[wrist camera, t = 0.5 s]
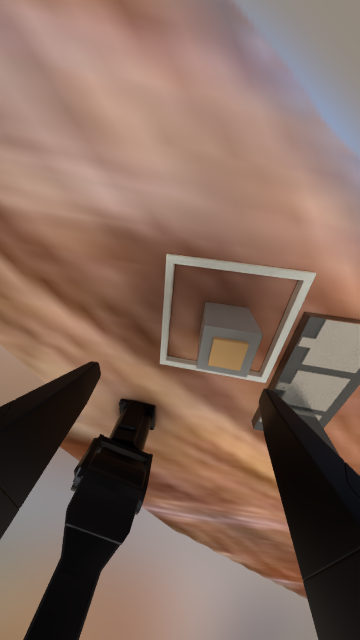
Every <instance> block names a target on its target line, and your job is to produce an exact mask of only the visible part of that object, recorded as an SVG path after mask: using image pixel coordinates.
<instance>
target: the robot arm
mask: <svg viewBox="0 0 360 640" xmlns="http://www.w3.org/2000/svg"><path fill="white" fill-rule="evenodd" d="M100 376H101V371H100V366H99V363H98V362H89V363H87V364H85V365H83V366H81V367H79V368H77V369H75V370H73V371H71V372H69V373H67V374H65V375H63V376H61V377H59V378H57V379H55V380H53V381H51V382H49V383H47V384H45V385H43V386H41V387H39V388H37V389H35V390H33V391H31V392H29V393H27V394H25V395H23V396H21V397H19V398H17V399H16V400H13V401H11V402H9V403H7V404H5V405H3V406H1V407H0V539H1V537H2V536H3V534H4V533H5V531H6V530H7V528H8V527H9V525H10V523H11V522H12V520H13V518H14V517H15V516H16V514H17V512H18V511H19V508H20V507H21V506H22V504H23V503H24V501H25V500H26V498H27V497H28V495H29V493H30V492H31V490H32V489H33V487H34V486H35V484H36V482H37V481H38V479H39V478H40V476H41V475H42V473H43V471H44V470H45V468H46V467H47V465H48V464H49V462H50V460H51V459H52V457H53V456H54V454H55V453H56V451H57V449H58V448H59V446H60V445H61V443H62V442H63V440H64V438H65V437H66V435H67V434H68V432H69V431H70V429H71V427H72V426H73V424H74V423H75V421H76V419H77V418H78V416H79V415H80V413H81V412H82V410H83V409H84V407H85V405H86V404H87V402H88V400H89V398H90V396H91V394H92V392H93V390H94V388H95V386H96V384H97V382H98V381H99V379H100ZM119 406H120V417H119V419H118V421H117V423H116V425H115V427H114V429H113V431H112V433H111V435H110V437H109V438H107V437H105V436H104V435H102V434H100V436H99V437H98V438H94V439H93V441H92V443H91V445H90V447H89V448H88V450H87V452H86V453H85V455H84V456H83V458H82V459H81V461H80V462H79V464H78V465H77V467H76V468H75V470H74V475H75V478H74V481H73V482H74V483H73V485H72V488H71V490H72V491H75V493H74V495H73V497H72V499H71V501H70V503H69V505H68V508H67V511H66V519H65V528H64V536H63V544H62V553H61V558H60V560H59V563H58V565H57V567H56V569H55V571H54V574H53V576H52V578H51V580H50V582H49V584H48V587H47V589H46V591H45V593H44V595H43V598H42V600H41V602H40V604H39V606H38V609H37V611H36V613H35V615H34V617H33V620H32V622H31V624H30V626H29V628H28V631H27V633H26V635H25V637H24V639H23V640H79V637H80V634H81V631H82V628H83V625H84V622H85V619H86V616H87V613H88V609H89V607H90V604H91V600H92V597H93V594H94V591H95V588H96V585H97V582H98V579H99V576H100V573H101V571H102V569H103V568H104V566H105V565H106V564H107V562H108V561H109V560H110V558H111V557H112V556H113V554H114V553H115V551H116V550H117V549H118V547H119V546H120V545H121V544H122V543H123V542H124V540H125V538H126V537H127V535H128V534H129V532H130V529H131V526H132V522H133V519H134V516H135V514H136V515H137V514H138V513H139V511H140V509H141V506H142V504H143V501H144V497H145V494H146V490H147V486H148V480H149V474H150V469H151V463H152V457H153V455H152V454H148V453H145V452H143V449H144V446H145V442H146V439H147V436H148V433H149V429H150V430H154V427H155V409H156V408H155V406H152V405H147V404H143V403H138V402H133V401H128V400H123V399H121V400H120V402H119ZM259 406H260V412H261V419H262V425H263V431H264V436H265V440H266V444H267V448H268V452H269V455H270V459H271V463H272V467H273V470H274V474H275V478H276V482H277V485H278V489H279V493H280V497H281V500H282V504H283V508H284V512H285V515H286V519H287V523H288V527H289V530H290V534H291V538H292V542H293V545H294V549H295V553H296V557H297V560H298V564H299V568H300V572H301V575H302V579H303V580H304V581H303V584H304V587H305V591H306V595H307V599H308V602H309V606H310V610H311V613H312V617H313V621H314V625H315V629H316V632H317V636H318V640H360V476H359V475H358V474H357V473H356V472H355V471H354V470H353V469H352V468H351V467H350V466H349V465H348V464H347V463H346V462H344V460H343V459H342V458H341V457H340V456H339V455H338V454H337V453H336V452H335V451H334V450H333V449H332V448H331V447H330V446H329V445H328V444H327V443H326V442H325V441H324V440H323V439H322V438H321V437H320V436H319V435H318V434H317V433H316V432H315V431H314V430H313V429H312V428H311V427H310V426H309V425H308V424H307V423H306V422H305V421H304V420H303V419H302V418H301V417H300V416H299V415H298V414H297V413H296V412H295V411H294V410H293V409H292V408H291V407H290V406H289V405H288V404H287V403H286V402H285V401H284V400H283V399H282V398H281V397H280V396H279V395H278V394H277V393H276V392H275V391H274V390H272V389H263V391H262V394H261V396H260V399H259Z"/></svg>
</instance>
